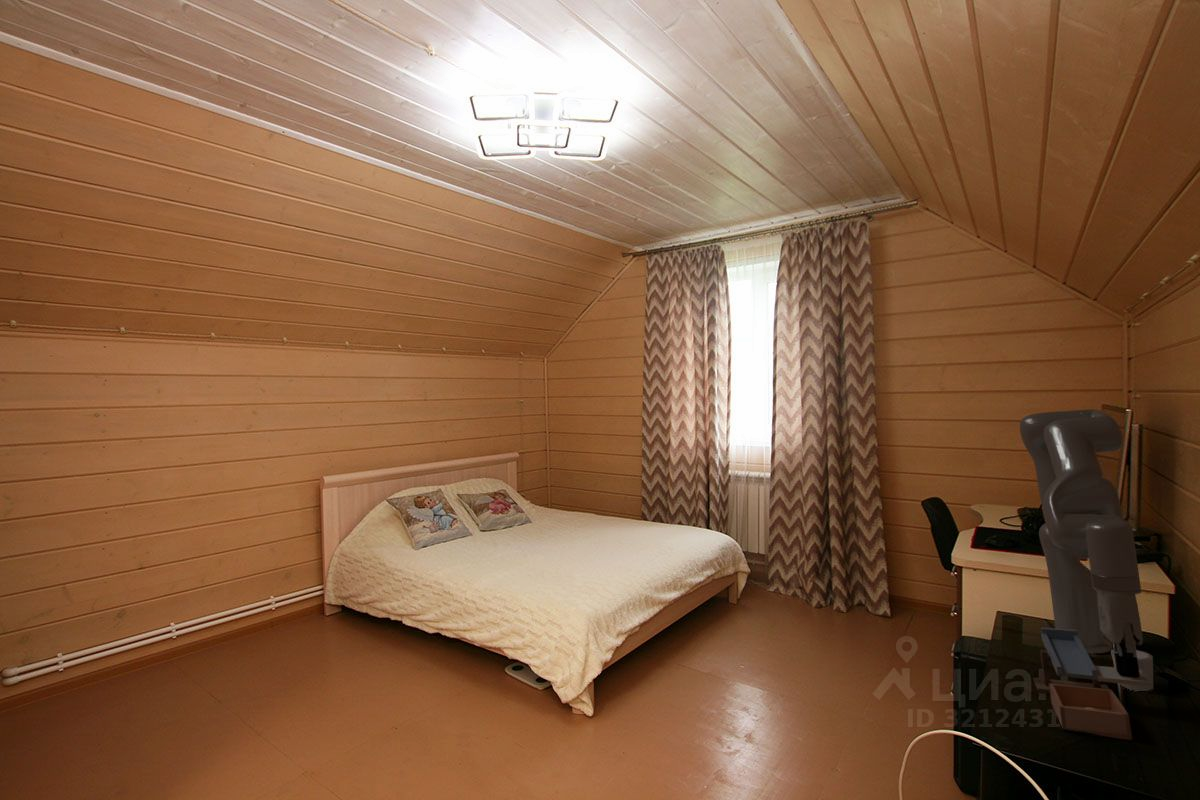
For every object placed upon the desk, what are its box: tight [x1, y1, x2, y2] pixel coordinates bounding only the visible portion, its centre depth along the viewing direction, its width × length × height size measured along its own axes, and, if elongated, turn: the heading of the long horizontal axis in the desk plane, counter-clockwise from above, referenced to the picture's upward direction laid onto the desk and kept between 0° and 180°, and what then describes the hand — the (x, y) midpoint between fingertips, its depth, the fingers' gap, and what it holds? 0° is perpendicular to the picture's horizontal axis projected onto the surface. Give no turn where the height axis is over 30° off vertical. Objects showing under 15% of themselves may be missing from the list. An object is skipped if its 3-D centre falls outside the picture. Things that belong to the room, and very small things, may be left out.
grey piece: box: [1040, 627, 1151, 686], centre depth 127 cm, size 17×15×4 cm
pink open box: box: [1049, 683, 1133, 741], centre depth 115 cm, size 11×10×4 cm
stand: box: [1032, 648, 1110, 695], centre depth 128 cm, size 6×13×8 cm, turn 61°
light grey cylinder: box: [1110, 648, 1154, 692], centre depth 128 cm, size 7×7×7 cm
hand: (1128, 674), depth 119 cm, fingers closed
